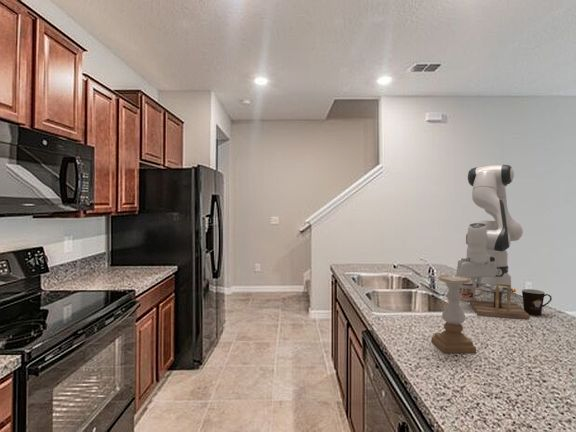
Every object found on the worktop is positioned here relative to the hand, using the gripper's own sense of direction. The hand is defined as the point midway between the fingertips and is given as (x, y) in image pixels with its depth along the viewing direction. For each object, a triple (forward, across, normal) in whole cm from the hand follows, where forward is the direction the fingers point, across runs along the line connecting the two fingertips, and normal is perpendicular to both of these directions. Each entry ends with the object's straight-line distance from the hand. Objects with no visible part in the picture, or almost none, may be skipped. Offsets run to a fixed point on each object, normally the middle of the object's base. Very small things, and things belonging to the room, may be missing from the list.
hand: (476, 286), depth 186 cm
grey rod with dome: (0, +3, -7) cm, 8 cm away
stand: (+10, +4, -9) cm, 14 cm away
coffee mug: (+10, +17, -17) cm, 26 cm away
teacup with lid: (+10, +6, +12) cm, 17 cm away
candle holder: (+10, -46, -41) cm, 62 cm away
